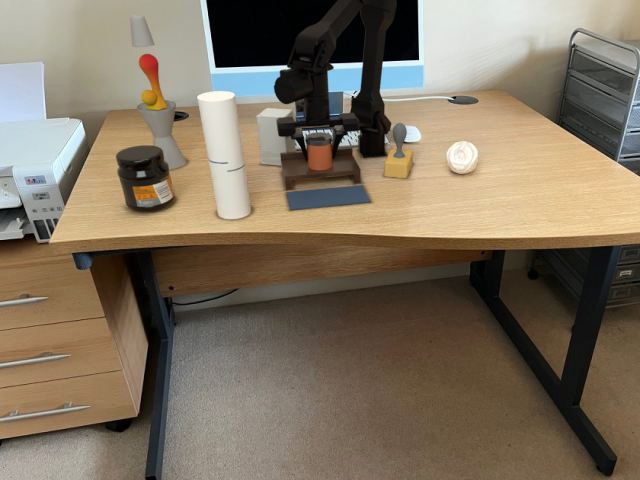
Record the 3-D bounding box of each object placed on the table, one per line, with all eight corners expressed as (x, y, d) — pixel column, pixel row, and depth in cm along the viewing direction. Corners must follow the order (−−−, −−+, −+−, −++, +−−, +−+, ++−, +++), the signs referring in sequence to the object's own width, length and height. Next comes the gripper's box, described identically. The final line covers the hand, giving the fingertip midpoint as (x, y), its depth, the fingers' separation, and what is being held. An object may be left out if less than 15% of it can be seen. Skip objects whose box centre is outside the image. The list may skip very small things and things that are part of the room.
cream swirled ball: (441, 175, 143) (443, 145, 139) (450, 164, 149) (452, 135, 145) (473, 180, 141) (476, 150, 137) (480, 169, 147) (483, 139, 142)
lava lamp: (172, 154, 154) (142, 11, 135) (194, 162, 150) (166, 15, 130) (143, 165, 148) (107, 16, 129) (165, 173, 144) (131, 20, 124)
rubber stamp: (406, 178, 142) (408, 130, 135) (383, 176, 143) (384, 129, 136) (412, 163, 150) (414, 117, 143) (390, 161, 151) (391, 116, 144)
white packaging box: (288, 166, 148) (283, 117, 141) (260, 164, 149) (254, 115, 142) (297, 156, 154) (293, 108, 147) (271, 154, 155) (265, 107, 148)
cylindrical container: (220, 205, 129) (200, 91, 115) (252, 204, 130) (237, 90, 116) (215, 219, 123) (194, 101, 109) (249, 218, 124) (232, 100, 110)
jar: (331, 159, 142) (329, 131, 138) (335, 169, 137) (333, 140, 133) (306, 161, 141) (303, 133, 137) (309, 171, 136) (306, 142, 132)
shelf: (352, 166, 148) (351, 147, 145) (360, 183, 139) (360, 163, 136) (281, 172, 145) (279, 152, 142) (285, 190, 136) (283, 169, 133)
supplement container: (176, 211, 126) (164, 159, 120) (125, 217, 124) (110, 164, 117) (176, 191, 135) (165, 142, 128) (128, 197, 132) (115, 146, 126)
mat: (362, 186, 138) (362, 185, 138) (370, 202, 130) (370, 201, 130) (286, 193, 134) (286, 191, 134) (290, 210, 127) (290, 208, 127)
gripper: (350, 81, 138) (352, 145, 147) (271, 86, 134) (278, 150, 143) (359, 94, 129) (360, 161, 138) (275, 100, 125) (282, 167, 134)
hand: (320, 159), depth 138 cm, fingers closed on jar, 6 cm apart
